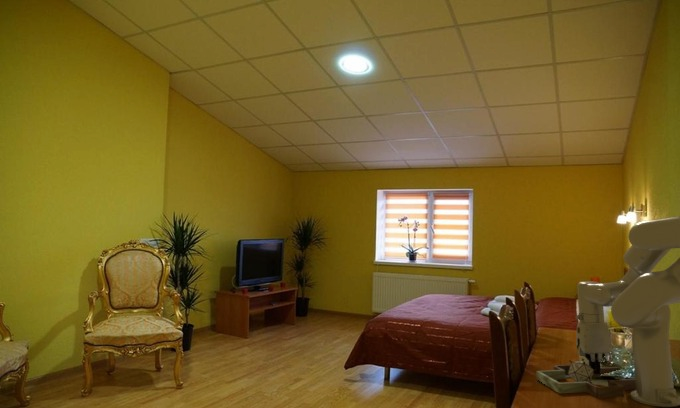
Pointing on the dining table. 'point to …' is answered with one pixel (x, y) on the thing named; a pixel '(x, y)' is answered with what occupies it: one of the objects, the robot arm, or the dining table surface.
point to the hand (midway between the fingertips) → (595, 372)
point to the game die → (580, 371)
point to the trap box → (584, 383)
